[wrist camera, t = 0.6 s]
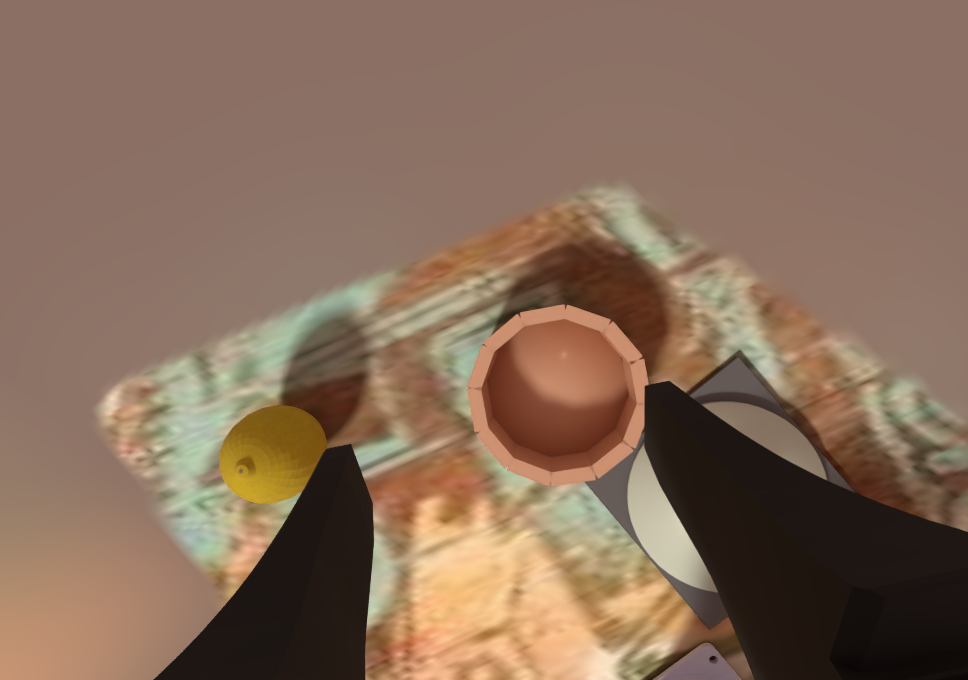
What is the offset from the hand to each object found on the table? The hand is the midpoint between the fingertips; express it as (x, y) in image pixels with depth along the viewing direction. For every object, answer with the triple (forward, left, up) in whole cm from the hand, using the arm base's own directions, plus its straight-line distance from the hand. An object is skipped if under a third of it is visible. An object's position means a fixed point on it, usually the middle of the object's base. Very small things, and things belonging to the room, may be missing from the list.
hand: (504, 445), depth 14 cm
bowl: (-2, 0, -23) cm, 23 cm away
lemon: (+6, +15, -23) cm, 28 cm away
